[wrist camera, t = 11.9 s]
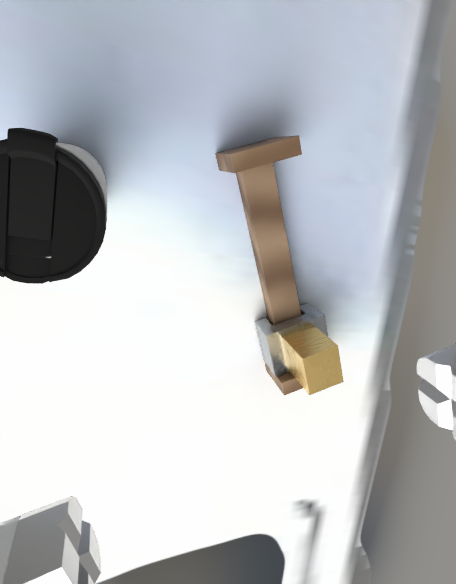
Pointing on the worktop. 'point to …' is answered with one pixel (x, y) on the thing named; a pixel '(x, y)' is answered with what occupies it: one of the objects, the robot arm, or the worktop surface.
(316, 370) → the slider
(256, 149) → the rail
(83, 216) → the travel mug
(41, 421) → the worktop surface
